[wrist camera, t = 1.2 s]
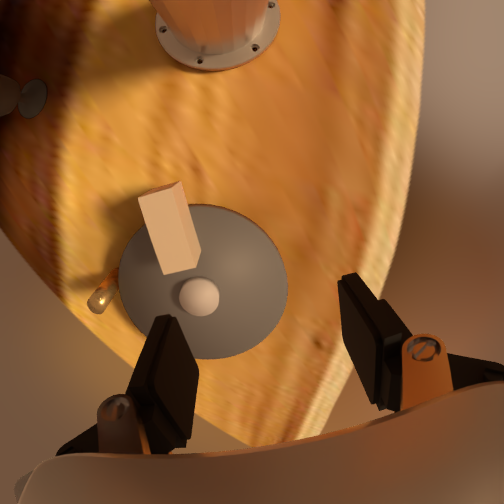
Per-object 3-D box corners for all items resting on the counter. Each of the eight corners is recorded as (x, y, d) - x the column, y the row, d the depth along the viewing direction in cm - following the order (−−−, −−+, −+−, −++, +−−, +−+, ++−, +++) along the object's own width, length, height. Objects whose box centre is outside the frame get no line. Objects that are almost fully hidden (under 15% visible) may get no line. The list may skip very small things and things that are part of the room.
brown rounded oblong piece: (117, 220, 31) (90, 242, 25) (247, 256, 33) (249, 286, 27) (110, 282, 34) (87, 313, 27) (228, 315, 36) (226, 352, 30)
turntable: (140, 167, 27) (119, 175, 22) (315, 216, 30) (330, 233, 25) (117, 328, 34) (102, 356, 29) (256, 364, 37) (259, 395, 31)
